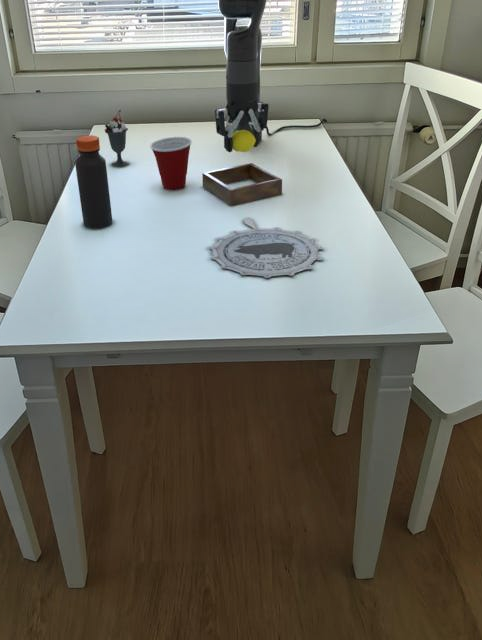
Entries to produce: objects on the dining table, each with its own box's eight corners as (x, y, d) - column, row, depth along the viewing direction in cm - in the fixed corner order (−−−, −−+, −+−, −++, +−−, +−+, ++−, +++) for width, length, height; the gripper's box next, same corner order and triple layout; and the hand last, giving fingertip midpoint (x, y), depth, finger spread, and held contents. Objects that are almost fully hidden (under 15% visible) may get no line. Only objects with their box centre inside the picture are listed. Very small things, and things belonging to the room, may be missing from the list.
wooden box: (251, 177, 173) (251, 162, 171) (281, 194, 162) (282, 179, 160) (202, 187, 168) (202, 172, 165) (230, 206, 156) (230, 190, 154)
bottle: (78, 223, 150) (66, 138, 139) (103, 215, 153) (93, 132, 142) (92, 232, 145) (80, 145, 134) (118, 224, 149) (108, 138, 138)
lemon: (254, 147, 162) (254, 126, 159) (257, 154, 157) (257, 132, 154) (226, 149, 161) (226, 127, 158) (229, 156, 157) (229, 134, 154)
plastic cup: (152, 180, 173) (149, 136, 166) (192, 178, 173) (190, 134, 167) (153, 195, 164) (149, 149, 157) (194, 193, 164) (193, 146, 158)
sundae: (133, 160, 188) (128, 108, 180) (128, 168, 182) (123, 114, 174) (111, 160, 188) (105, 108, 180) (106, 168, 183) (100, 114, 175)
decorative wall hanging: (339, 272, 125) (301, 214, 150) (339, 271, 125) (301, 213, 150) (217, 282, 123) (199, 222, 148) (217, 281, 123) (199, 221, 148)
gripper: (223, 86, 144) (223, 158, 154) (276, 78, 150) (274, 148, 159) (207, 80, 150) (209, 149, 159) (259, 72, 155) (258, 140, 164)
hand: (241, 148), depth 159 cm, fingers closed on lemon, 6 cm apart
